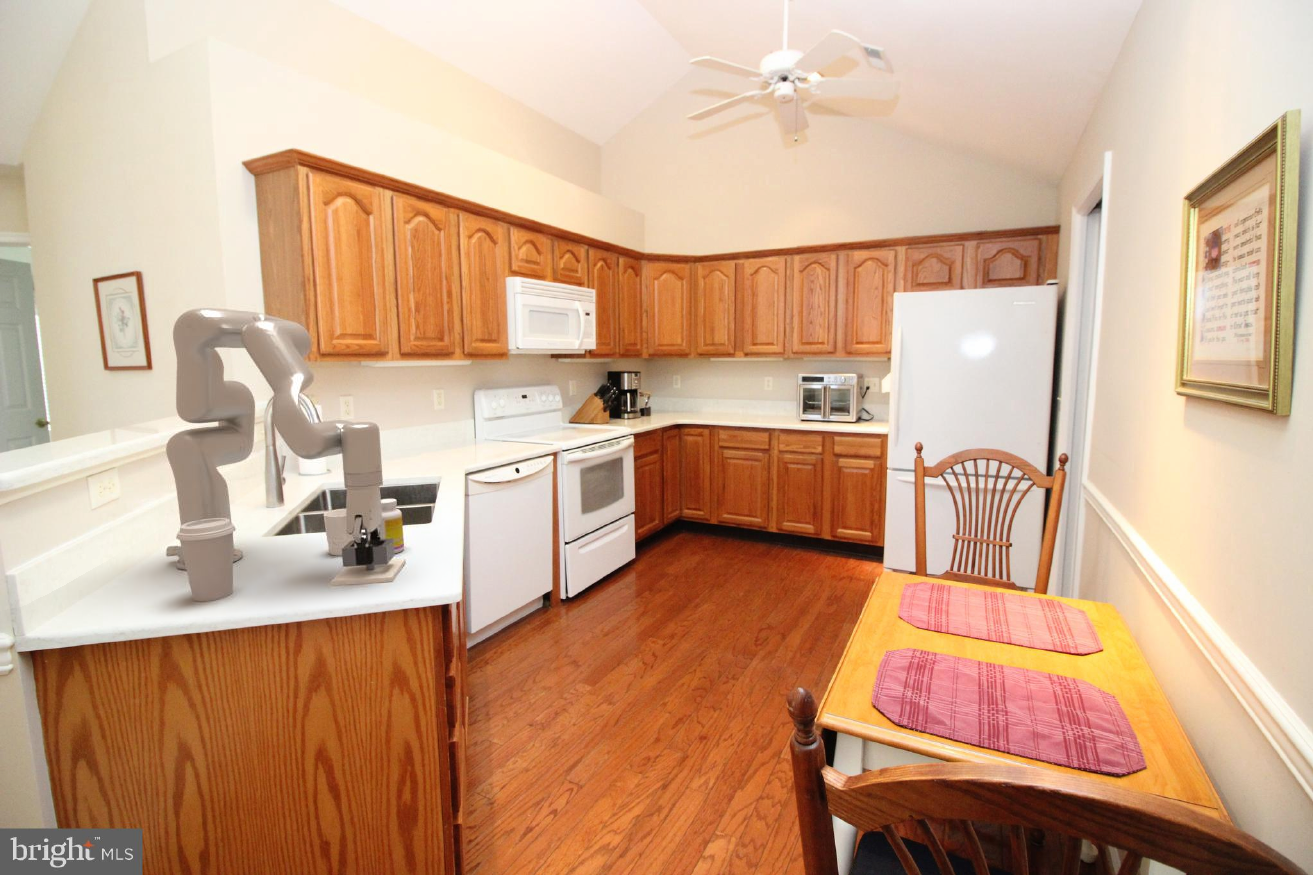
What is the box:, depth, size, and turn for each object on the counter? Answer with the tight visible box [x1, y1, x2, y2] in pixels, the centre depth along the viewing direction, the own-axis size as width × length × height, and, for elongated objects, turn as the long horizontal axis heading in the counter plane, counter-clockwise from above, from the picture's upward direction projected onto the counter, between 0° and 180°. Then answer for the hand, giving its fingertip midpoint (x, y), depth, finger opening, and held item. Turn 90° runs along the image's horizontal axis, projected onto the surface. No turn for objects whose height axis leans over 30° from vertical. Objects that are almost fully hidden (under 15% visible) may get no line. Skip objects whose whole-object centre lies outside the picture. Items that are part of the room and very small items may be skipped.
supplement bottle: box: [377, 498, 405, 555], centre depth 148 cm, size 7×7×13 cm
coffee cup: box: [175, 518, 237, 602], centre depth 121 cm, size 10×10×15 cm
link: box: [341, 539, 395, 568], centre depth 133 cm, size 9×6×4 cm, turn 100°
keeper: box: [331, 544, 407, 586], centre depth 133 cm, size 12×12×6 cm
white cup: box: [323, 508, 354, 557], centre depth 149 cm, size 8×8×10 cm
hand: (369, 558), depth 133 cm, fingers closed on link, 6 cm apart
